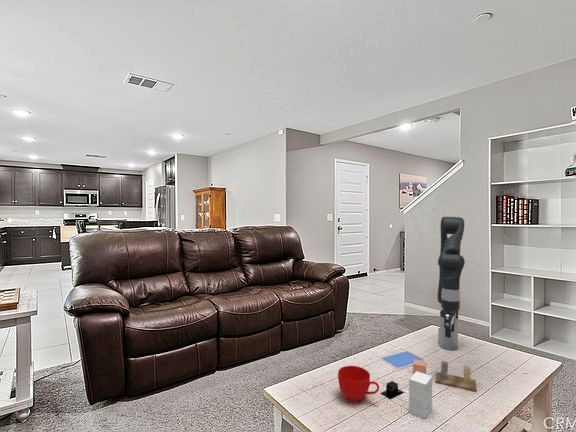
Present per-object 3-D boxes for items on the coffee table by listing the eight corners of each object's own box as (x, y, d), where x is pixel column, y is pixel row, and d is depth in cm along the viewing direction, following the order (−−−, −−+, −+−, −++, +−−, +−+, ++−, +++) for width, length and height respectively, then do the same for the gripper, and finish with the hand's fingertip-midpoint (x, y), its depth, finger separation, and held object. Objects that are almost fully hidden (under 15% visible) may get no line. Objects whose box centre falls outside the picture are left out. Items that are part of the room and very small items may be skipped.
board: (435, 382, 146) (435, 365, 146) (436, 373, 154) (436, 357, 154) (476, 392, 139) (476, 373, 139) (475, 382, 147) (475, 364, 147)
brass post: (463, 383, 144) (464, 367, 144) (463, 380, 146) (463, 365, 146) (470, 385, 143) (470, 369, 143) (470, 382, 145) (470, 366, 145)
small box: (415, 402, 131) (416, 370, 131) (432, 408, 127) (432, 375, 127) (408, 412, 125) (408, 378, 125) (425, 419, 121) (426, 384, 121)
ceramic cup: (373, 414, 124) (374, 388, 124) (332, 400, 133) (332, 375, 133) (383, 397, 135) (383, 373, 135) (344, 385, 144) (345, 362, 144)
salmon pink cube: (412, 377, 150) (413, 363, 150) (414, 372, 155) (414, 359, 155) (424, 380, 148) (425, 366, 148) (425, 375, 153) (426, 361, 152)
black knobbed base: (394, 385, 145) (394, 375, 145) (408, 393, 139) (408, 383, 139) (375, 395, 138) (375, 384, 138) (389, 403, 132) (389, 392, 131)
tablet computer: (397, 371, 158) (397, 368, 158) (379, 360, 169) (379, 357, 169) (426, 362, 166) (426, 360, 166) (407, 352, 178) (407, 350, 178)
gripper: (444, 293, 155) (443, 327, 156) (438, 300, 144) (437, 337, 144) (462, 296, 151) (461, 331, 151) (457, 303, 139) (456, 341, 140)
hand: (449, 334), depth 148 cm, fingers open, 8 cm apart
